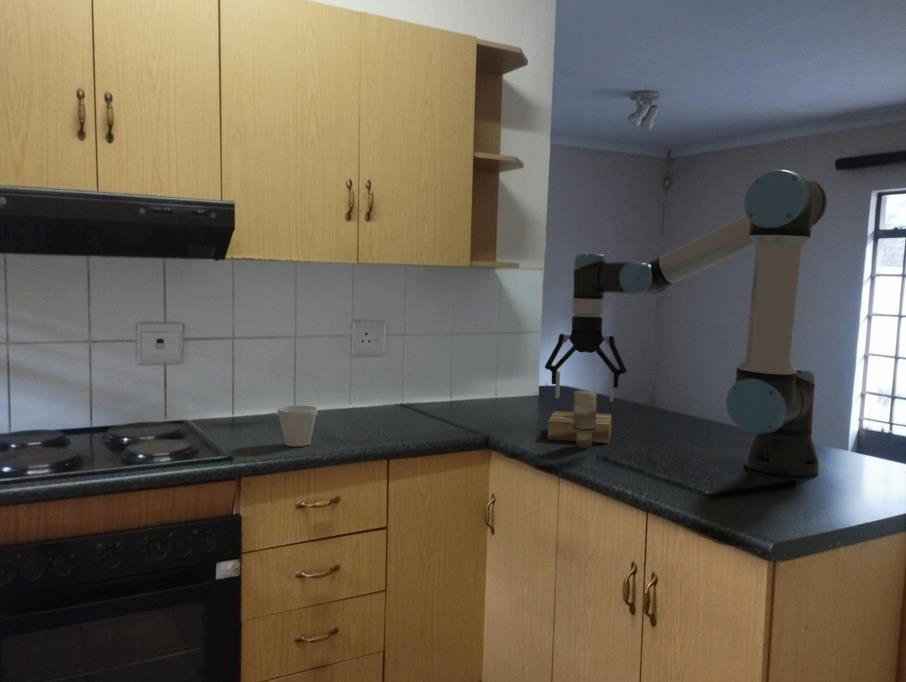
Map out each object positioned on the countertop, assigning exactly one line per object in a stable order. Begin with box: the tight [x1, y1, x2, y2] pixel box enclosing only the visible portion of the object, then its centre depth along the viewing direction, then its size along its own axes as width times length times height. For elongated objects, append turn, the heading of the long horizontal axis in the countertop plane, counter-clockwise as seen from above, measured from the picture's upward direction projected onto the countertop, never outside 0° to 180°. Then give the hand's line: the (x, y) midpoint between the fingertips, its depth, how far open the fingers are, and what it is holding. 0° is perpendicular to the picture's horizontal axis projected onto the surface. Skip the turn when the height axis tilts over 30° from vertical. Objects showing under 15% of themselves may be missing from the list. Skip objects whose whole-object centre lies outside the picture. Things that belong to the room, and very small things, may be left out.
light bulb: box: [573, 390, 598, 449], centre depth 182 cm, size 6×6×14 cm
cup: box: [277, 405, 319, 448], centre depth 180 cm, size 10×10×9 cm
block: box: [547, 410, 612, 444], centre depth 195 cm, size 15×16×5 cm
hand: (584, 398), depth 181 cm, fingers open, 13 cm apart
